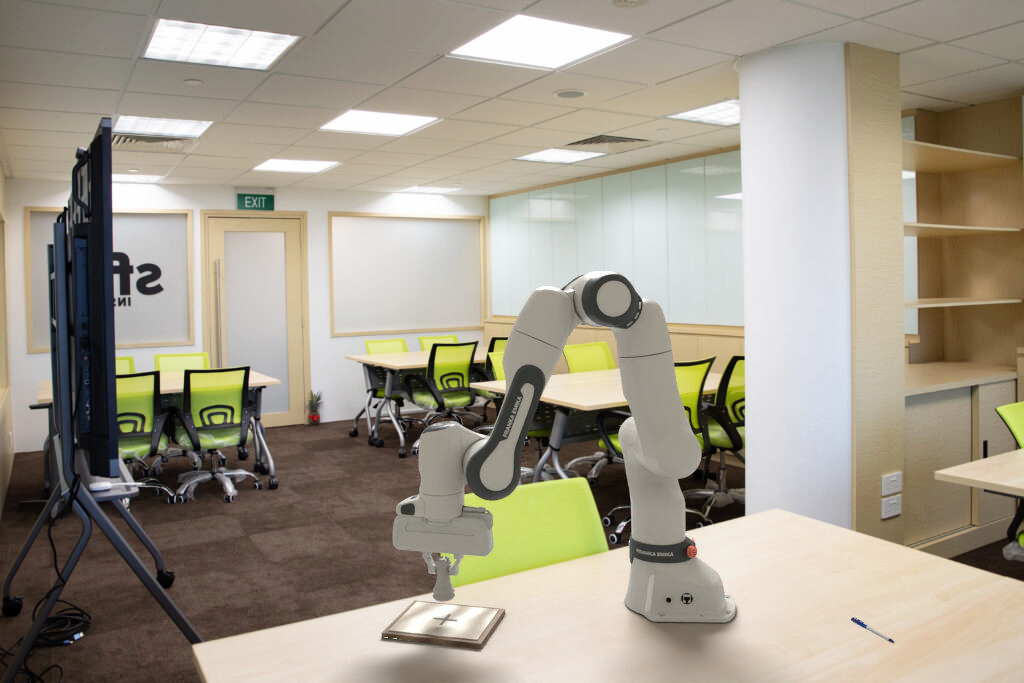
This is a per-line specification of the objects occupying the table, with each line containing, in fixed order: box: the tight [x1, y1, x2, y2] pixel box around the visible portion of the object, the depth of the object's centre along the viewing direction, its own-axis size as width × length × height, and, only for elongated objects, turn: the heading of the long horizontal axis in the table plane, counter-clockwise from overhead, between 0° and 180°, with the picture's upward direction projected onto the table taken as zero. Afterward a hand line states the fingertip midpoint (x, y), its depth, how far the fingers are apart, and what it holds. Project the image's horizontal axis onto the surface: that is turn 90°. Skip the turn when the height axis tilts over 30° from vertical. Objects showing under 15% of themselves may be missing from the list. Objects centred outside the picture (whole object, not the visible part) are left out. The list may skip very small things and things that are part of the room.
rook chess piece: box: [432, 555, 456, 603], centre depth 150 cm, size 4×4×8 cm
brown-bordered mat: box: [381, 599, 506, 650], centre depth 150 cm, size 20×16×1 cm
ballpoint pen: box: [850, 616, 895, 643], centre depth 144 cm, size 10×1×1 cm, turn 19°
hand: (443, 573), depth 150 cm, fingers closed on rook chess piece, 3 cm apart
